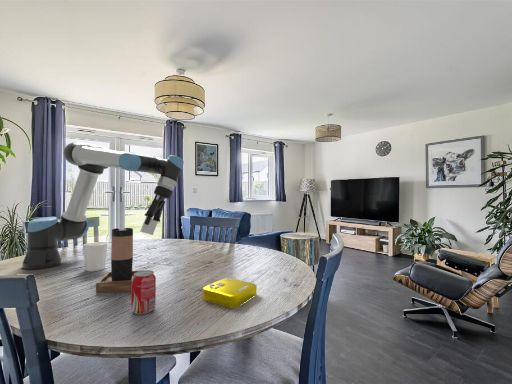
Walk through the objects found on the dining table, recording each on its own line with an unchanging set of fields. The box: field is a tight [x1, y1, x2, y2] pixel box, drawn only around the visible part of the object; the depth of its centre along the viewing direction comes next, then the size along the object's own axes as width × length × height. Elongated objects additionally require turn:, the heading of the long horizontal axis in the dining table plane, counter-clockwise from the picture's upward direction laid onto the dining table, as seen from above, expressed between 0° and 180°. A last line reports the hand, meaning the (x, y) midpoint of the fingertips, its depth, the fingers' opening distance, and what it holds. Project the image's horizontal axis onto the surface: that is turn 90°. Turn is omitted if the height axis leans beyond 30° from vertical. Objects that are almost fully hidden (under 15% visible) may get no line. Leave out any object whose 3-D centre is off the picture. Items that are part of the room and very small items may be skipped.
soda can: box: [130, 269, 157, 315], centre depth 85 cm, size 7×7×12 cm
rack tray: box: [95, 269, 144, 295], centre depth 106 cm, size 14×14×4 cm
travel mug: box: [110, 227, 134, 281], centre depth 107 cm, size 8×8×20 cm
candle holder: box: [83, 241, 108, 272], centre depth 129 cm, size 10×10×12 cm
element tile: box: [202, 277, 257, 309], centre depth 98 cm, size 15×15×5 cm
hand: (146, 233), depth 117 cm, fingers open, 13 cm apart
